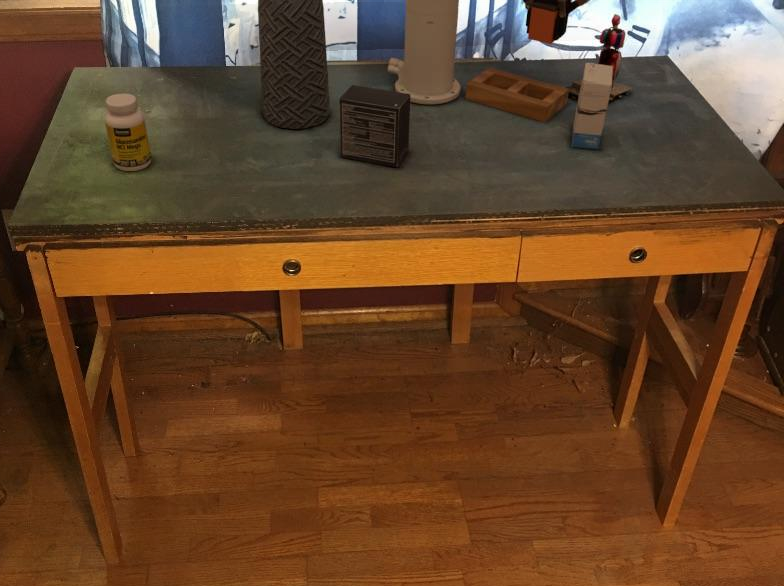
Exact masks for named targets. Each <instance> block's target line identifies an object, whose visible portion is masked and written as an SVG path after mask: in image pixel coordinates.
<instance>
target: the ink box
mask: <svg viewBox="0 0 784 586" xmlns="http://www.w3.org/2000/svg"><path fill="white" fill-rule="evenodd" d="M612 74H613V66H608V65H601V64H598V63H593V62H586V63H585V64H584V67H583V72H582V79H581V80H582V83H581V88H580V93H579V97H577V98H578V99H577V104H576V108H575V114H574V120H573V126H572V135H571V147H572V148H578V149H579V148H580V149H590V150H599V148H600V144H601V140H602V134H603V129H604V125H605V121H606V116H607V111H608V105H609V97H610V92H611V86H612Z"/></svg>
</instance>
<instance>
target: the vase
mask: <svg viewBox="0 0 784 586" xmlns="http://www.w3.org/2000/svg"><path fill="white" fill-rule="evenodd" d="M257 22H258V40H259V41H258V42H259V45H258V46H259V65H260V67H259V68H260V87H261V90H260V91H261V107H262V114H263V118H264V119H265V121H267V122H268V123H269V124H271V125H273V126H275V127H279V128H282V129H283V128H284V129H290V130H291V129H292V130H293V129H294V130H297V129H298V130H301V129H308V128H312V127H315V126H316V127H317V126H318V125H321V124H322V123H324V122H325V121H326V120H328V118H329V115H330V111H331V106H330V87H329V73H328V71H329V70H328V57H327V41H326V39H327V38H326V24H325V9H324V1H323V0H257Z"/></svg>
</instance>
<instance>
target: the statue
mask: <svg viewBox="0 0 784 586" xmlns="http://www.w3.org/2000/svg"><path fill="white" fill-rule="evenodd" d="M620 23H621V15H619V14H617V13H614V15H613V16H612V18H611V24H612V26H610V27H609V28H605V29H602V31H601V34H600V37H599V43H600V44H601V45H602V49H601V50H600V53H599V57H598V61H597V64H601V65H608V66H613V74H612V86H611V92H610V97H609V101H610V102H613V100H614V99H615V98H616V96H617V97H618V98H619V99H620V98H623V95H622V94H626V95H627V96H628V94H629V93H630V91H631V90H632V89H633V87H631V86H626V85H624V84H621V83H619V82H618V83H617V82H615V80H616V79H617V78H618V76H619V72H620V68H621V63H622V59H623V56H622V52H621V51H619V50H620V49H623V48H624V45H625V41H626V33H627V32H626V31H625V29H622V28H619V25H620ZM581 83H582V79H579V80H576V81H573V82H572V84H571V86H566V87H565V88H567V89H569V93H568V95H570V96H571V97H572V98H573V99H577V98H579V93H580V88H581ZM609 101H608V102H609Z"/></svg>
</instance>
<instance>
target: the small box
mask: <svg viewBox="0 0 784 586" xmlns="http://www.w3.org/2000/svg"><path fill="white" fill-rule="evenodd" d="M410 97H411V95H410V94H406V93H400V92H395V91H393V90H387V89H379V88H374V87H368V86H362V85H356V84H352V85H351V86H350V87H348V89H347V90H346V91H345V92H344V93H343V94H342V95H341V96H340V97H339V115H340V116H339V123H340V124H339V125H340V126H339V127H340V129H339V130H340V131H339V133H340V158H342V159H348V160H353V161H358V162H364V163H365V162H366V163H370V164H376V165H381V166H387V167H392V168H399V167H400V165H401V164H402V162H403V161H404V159H405V158H406V157H407V155H408V153H409V147H410V145H409V144H410V117H411V102H410Z"/></svg>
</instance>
